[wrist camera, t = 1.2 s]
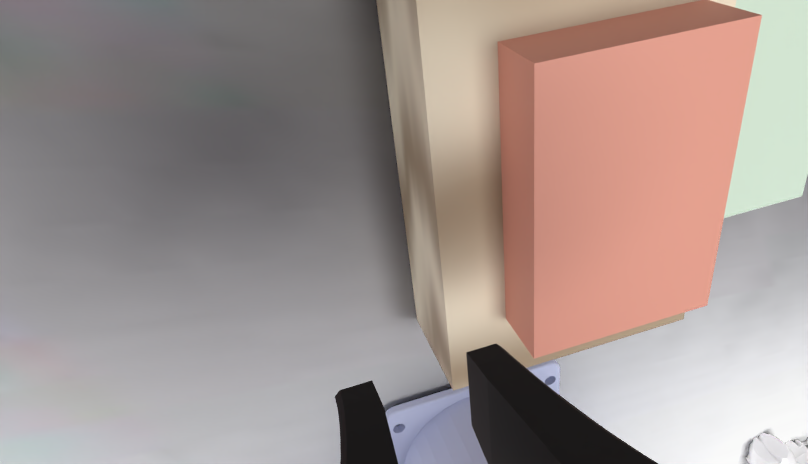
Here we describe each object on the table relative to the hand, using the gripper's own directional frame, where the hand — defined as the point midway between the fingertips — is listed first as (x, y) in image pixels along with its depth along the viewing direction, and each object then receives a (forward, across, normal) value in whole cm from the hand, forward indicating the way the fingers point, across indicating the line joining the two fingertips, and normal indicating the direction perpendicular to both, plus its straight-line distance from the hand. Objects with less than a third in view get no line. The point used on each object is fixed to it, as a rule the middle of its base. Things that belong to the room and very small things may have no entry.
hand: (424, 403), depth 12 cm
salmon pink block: (+6, -8, 0) cm, 10 cm away
